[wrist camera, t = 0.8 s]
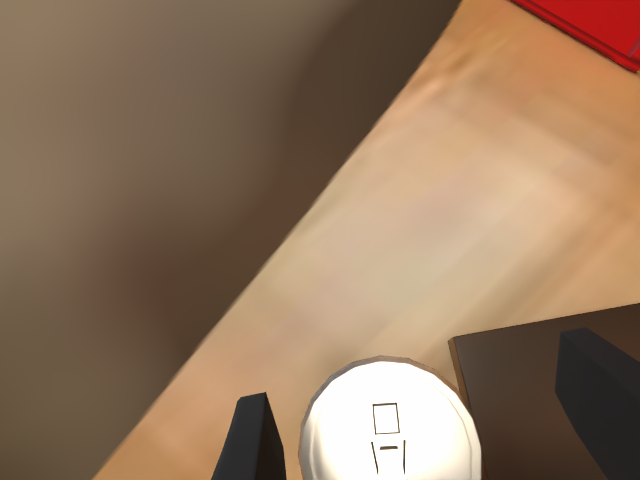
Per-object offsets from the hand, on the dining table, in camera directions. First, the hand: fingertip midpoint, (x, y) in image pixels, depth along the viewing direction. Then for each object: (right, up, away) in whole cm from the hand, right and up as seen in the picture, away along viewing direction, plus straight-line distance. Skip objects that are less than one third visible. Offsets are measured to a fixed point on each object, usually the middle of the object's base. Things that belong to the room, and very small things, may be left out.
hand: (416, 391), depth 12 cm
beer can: (+1, -6, +13) cm, 14 cm away
